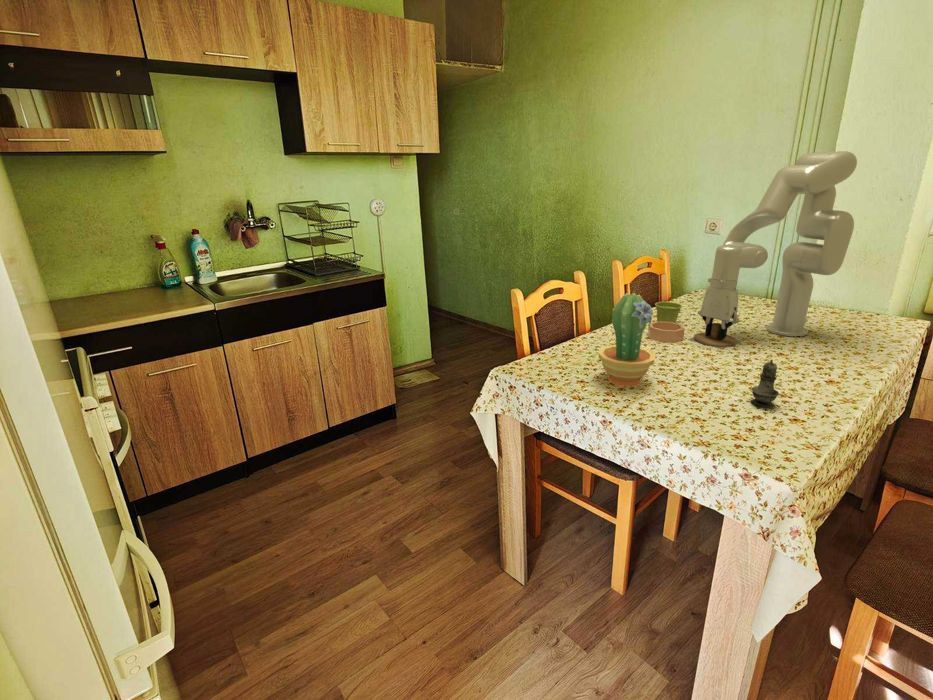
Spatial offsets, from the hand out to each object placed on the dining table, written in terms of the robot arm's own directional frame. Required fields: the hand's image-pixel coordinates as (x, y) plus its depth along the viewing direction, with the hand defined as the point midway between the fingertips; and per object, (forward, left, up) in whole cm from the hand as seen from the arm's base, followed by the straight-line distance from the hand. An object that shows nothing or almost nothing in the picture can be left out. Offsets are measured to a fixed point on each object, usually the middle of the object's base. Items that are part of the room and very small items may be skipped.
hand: (715, 336), depth 163 cm
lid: (0, 0, -1) cm, 1 cm away
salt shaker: (+33, +33, -2) cm, 47 cm away
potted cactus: (+49, +3, -2) cm, 49 cm away
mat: (0, 0, -2) cm, 2 cm away
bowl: (+10, -12, -2) cm, 16 cm away
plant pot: (-3, -21, -3) cm, 21 cm away
